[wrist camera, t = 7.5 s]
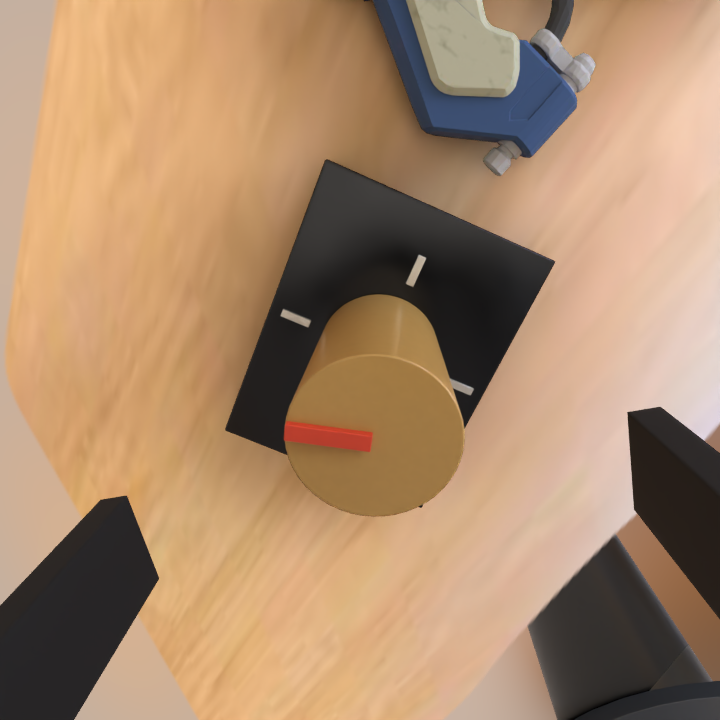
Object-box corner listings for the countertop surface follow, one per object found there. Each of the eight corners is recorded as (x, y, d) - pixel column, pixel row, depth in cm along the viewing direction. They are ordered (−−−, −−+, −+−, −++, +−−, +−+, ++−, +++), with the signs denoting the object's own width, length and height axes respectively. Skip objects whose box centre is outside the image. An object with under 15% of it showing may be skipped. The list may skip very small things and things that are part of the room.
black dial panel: (418, 478, 30) (421, 510, 27) (240, 407, 29) (223, 432, 26) (537, 253, 26) (557, 262, 23) (332, 161, 25) (325, 158, 22)
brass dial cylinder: (447, 302, 24) (483, 371, 15) (427, 413, 25) (448, 533, 17) (325, 286, 24) (289, 345, 15) (314, 398, 26) (275, 510, 17)
